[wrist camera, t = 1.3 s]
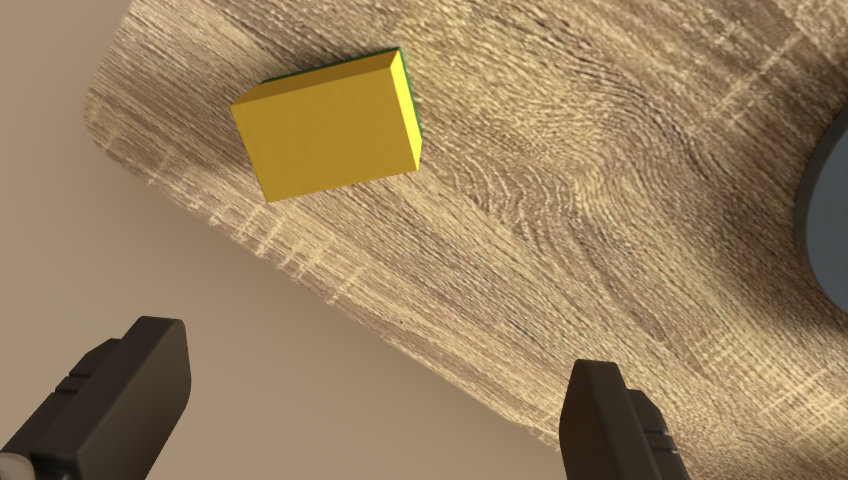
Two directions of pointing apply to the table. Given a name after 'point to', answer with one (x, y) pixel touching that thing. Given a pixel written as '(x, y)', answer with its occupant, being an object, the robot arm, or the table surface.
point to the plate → (826, 214)
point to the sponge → (331, 126)
